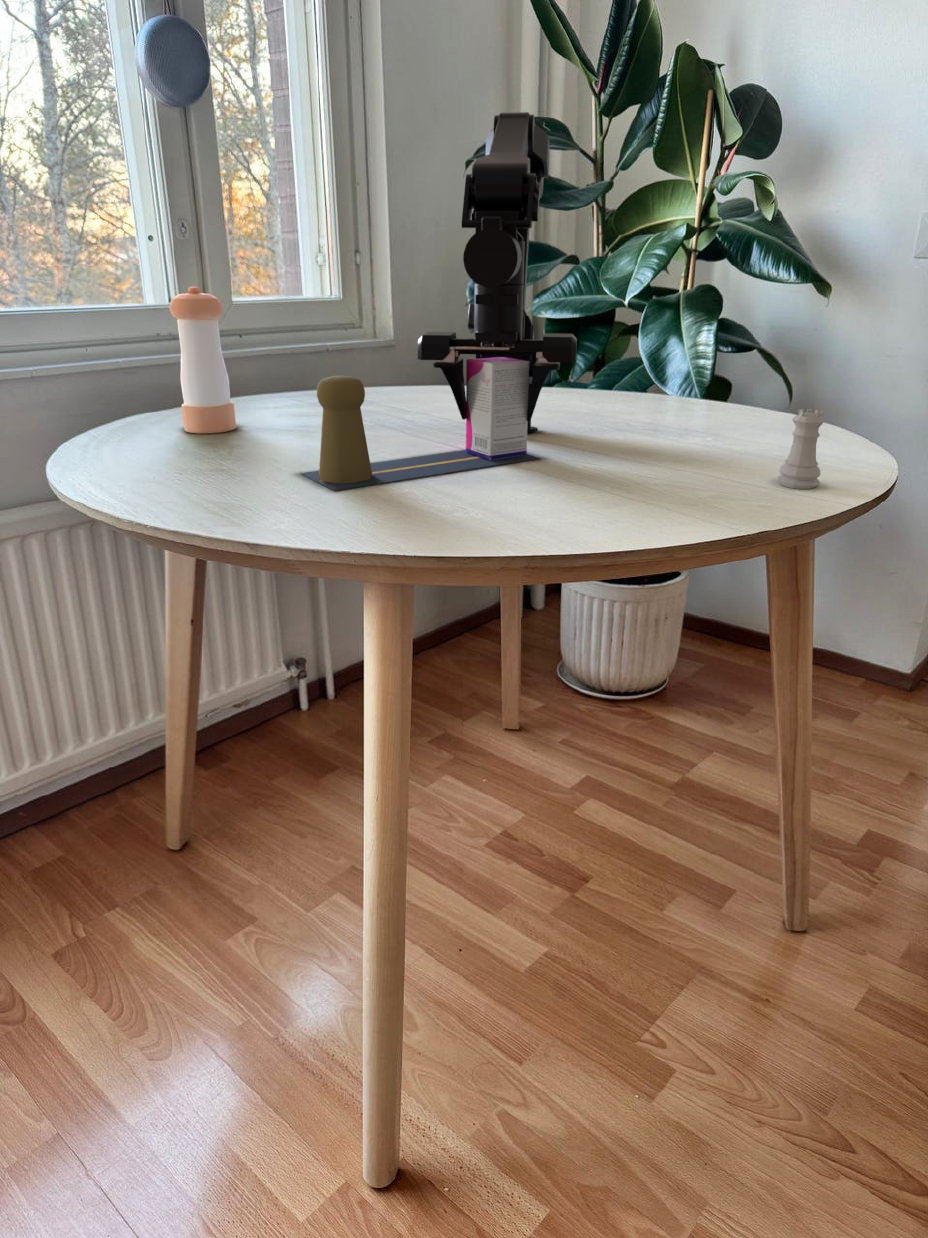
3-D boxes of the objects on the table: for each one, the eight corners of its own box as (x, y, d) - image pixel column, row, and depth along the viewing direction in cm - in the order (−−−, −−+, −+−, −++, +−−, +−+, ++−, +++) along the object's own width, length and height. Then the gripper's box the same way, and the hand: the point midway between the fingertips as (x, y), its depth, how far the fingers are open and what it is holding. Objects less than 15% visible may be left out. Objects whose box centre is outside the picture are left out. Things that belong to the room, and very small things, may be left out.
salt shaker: (233, 432, 118) (218, 287, 110) (180, 434, 117) (160, 287, 109) (238, 423, 124) (223, 285, 117) (188, 424, 123) (170, 285, 116)
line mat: (497, 445, 110) (497, 445, 110) (540, 458, 103) (540, 457, 103) (300, 474, 96) (300, 473, 96) (334, 491, 89) (334, 490, 89)
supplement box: (528, 454, 104) (531, 359, 99) (489, 461, 101) (490, 364, 96) (502, 446, 109) (503, 354, 104) (464, 452, 106) (463, 358, 101)
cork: (320, 470, 97) (314, 372, 92) (372, 469, 97) (368, 372, 93) (316, 483, 91) (309, 380, 87) (372, 482, 92) (367, 379, 87)
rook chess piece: (814, 491, 89) (828, 416, 86) (771, 486, 91) (783, 411, 88) (822, 482, 92) (836, 409, 89) (781, 477, 95) (792, 406, 91)
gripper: (580, 282, 103) (573, 410, 109) (431, 281, 105) (433, 406, 112) (579, 285, 93) (571, 426, 99) (415, 284, 95) (418, 422, 101)
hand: (496, 419), depth 103 cm, fingers closed on supplement box, 8 cm apart
